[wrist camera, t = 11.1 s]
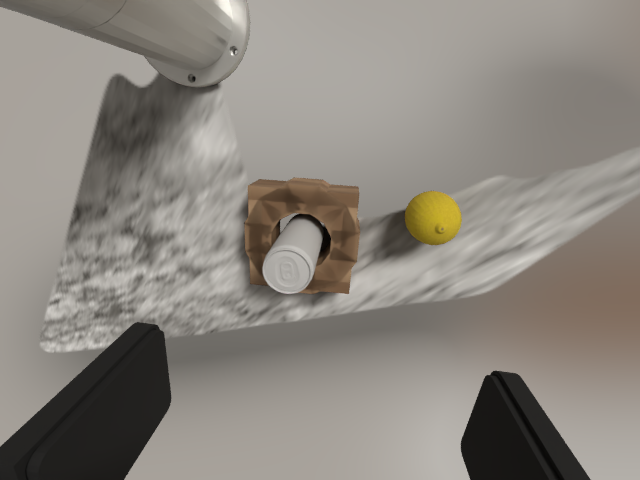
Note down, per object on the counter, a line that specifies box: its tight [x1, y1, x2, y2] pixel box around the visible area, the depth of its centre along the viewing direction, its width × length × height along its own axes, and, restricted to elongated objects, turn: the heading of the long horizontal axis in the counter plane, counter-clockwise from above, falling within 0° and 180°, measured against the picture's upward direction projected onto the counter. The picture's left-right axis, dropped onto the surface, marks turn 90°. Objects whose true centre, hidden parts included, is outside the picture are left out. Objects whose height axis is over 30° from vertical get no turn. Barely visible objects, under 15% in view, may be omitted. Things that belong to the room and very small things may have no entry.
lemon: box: [405, 191, 462, 245], centre depth 33 cm, size 6×6×8 cm
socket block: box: [244, 178, 360, 294], centre depth 37 cm, size 13×13×4 cm
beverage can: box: [263, 214, 324, 294], centre depth 33 cm, size 5×5×12 cm
